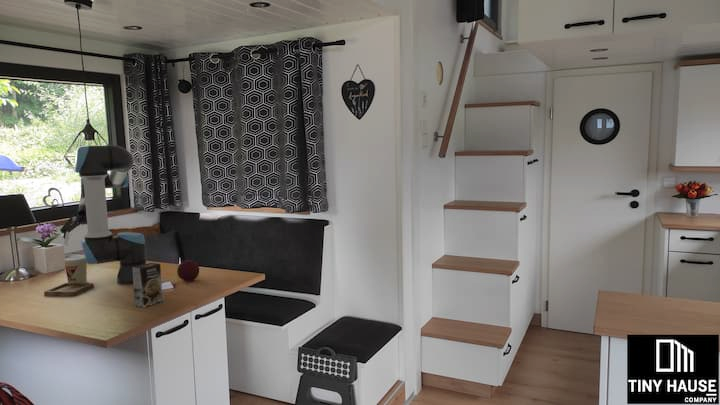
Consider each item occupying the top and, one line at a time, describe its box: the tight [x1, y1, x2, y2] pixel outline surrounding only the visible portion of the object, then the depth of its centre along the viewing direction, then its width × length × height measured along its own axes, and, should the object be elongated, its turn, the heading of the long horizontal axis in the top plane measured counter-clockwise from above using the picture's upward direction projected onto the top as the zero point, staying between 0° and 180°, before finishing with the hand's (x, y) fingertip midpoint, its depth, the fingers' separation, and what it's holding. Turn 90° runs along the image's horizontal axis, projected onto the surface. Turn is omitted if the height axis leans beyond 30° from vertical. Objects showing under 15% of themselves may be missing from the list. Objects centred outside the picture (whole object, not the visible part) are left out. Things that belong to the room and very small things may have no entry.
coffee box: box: [132, 262, 164, 308], centre depth 218 cm, size 9×6×16 cm
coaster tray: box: [43, 282, 95, 297], centre depth 240 cm, size 14×14×2 cm
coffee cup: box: [63, 255, 88, 283], centre depth 254 cm, size 9×9×12 cm
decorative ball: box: [176, 259, 200, 282], centre depth 253 cm, size 10×10×10 cm
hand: (80, 243), depth 263 cm, fingers open, 13 cm apart
